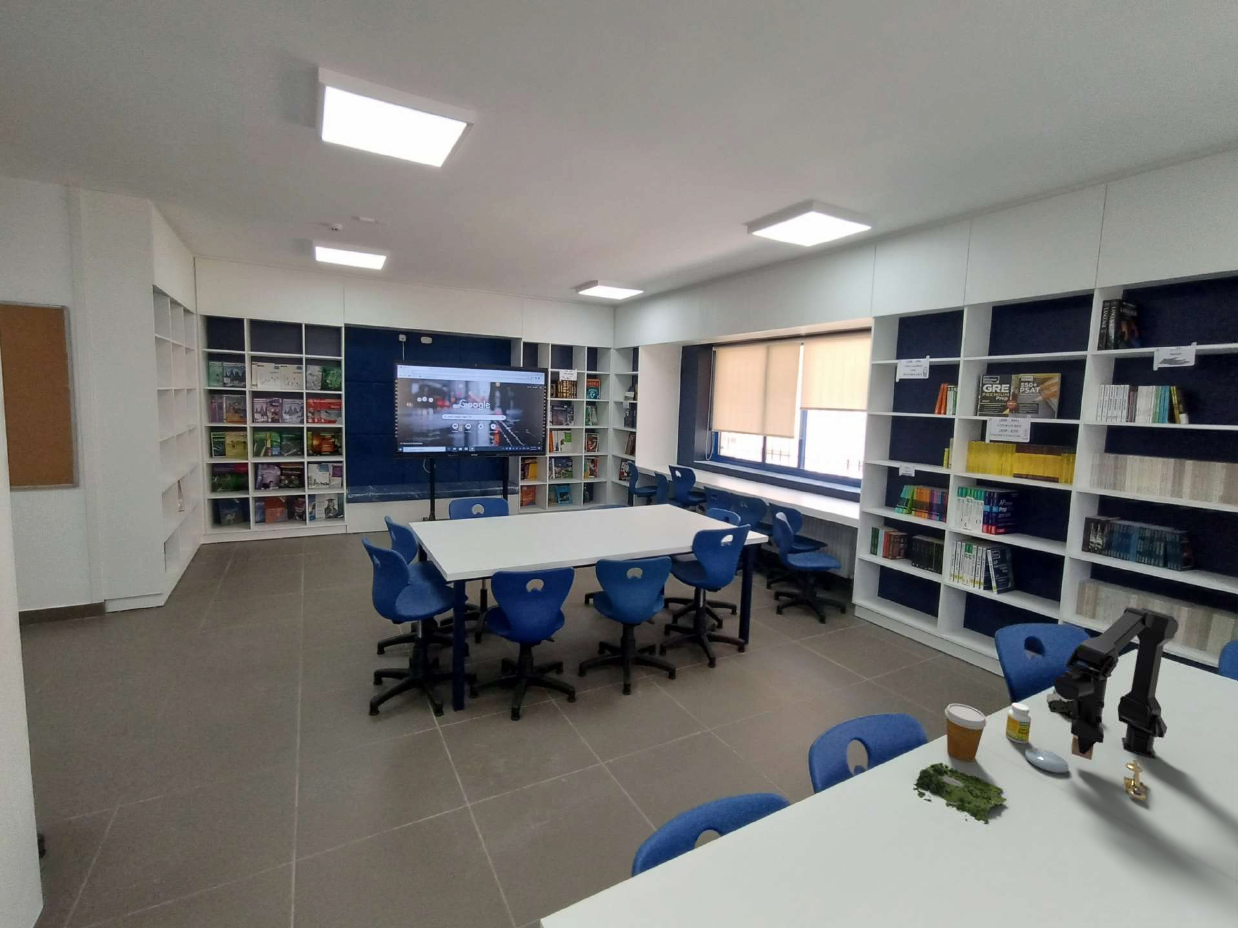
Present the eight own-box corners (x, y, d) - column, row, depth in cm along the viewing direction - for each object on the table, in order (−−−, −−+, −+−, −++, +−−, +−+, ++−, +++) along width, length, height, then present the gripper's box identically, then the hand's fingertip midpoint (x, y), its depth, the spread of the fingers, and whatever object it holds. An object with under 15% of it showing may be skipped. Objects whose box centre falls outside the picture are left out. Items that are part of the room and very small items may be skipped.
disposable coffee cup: (988, 768, 145) (993, 724, 144) (947, 762, 147) (953, 719, 146) (973, 746, 154) (978, 705, 153) (935, 741, 156) (939, 700, 155)
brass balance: (1122, 772, 146) (1125, 753, 145) (1141, 778, 144) (1144, 759, 143) (1126, 798, 136) (1129, 778, 135) (1146, 805, 134) (1150, 785, 133)
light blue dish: (1025, 748, 154) (1026, 743, 154) (1067, 762, 149) (1068, 757, 149) (1023, 764, 147) (1024, 759, 147) (1067, 779, 142) (1068, 774, 142)
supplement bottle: (1015, 731, 163) (1019, 700, 162) (1032, 742, 157) (1037, 710, 156) (1000, 733, 161) (1004, 701, 160) (1017, 744, 156) (1021, 712, 155)
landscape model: (901, 795, 137) (901, 774, 137) (947, 768, 148) (947, 749, 148) (975, 833, 123) (975, 811, 122) (1019, 801, 134) (1019, 780, 134)
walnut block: (1071, 746, 150) (1073, 730, 150) (1090, 752, 148) (1093, 736, 147) (1071, 753, 147) (1073, 737, 146) (1091, 759, 145) (1093, 743, 144)
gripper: (1051, 669, 158) (1044, 722, 159) (1050, 695, 143) (1042, 752, 145) (1103, 683, 151) (1095, 738, 153) (1107, 711, 136) (1098, 771, 138)
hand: (1081, 749), depth 147 cm, fingers closed on walnut block, 4 cm apart
